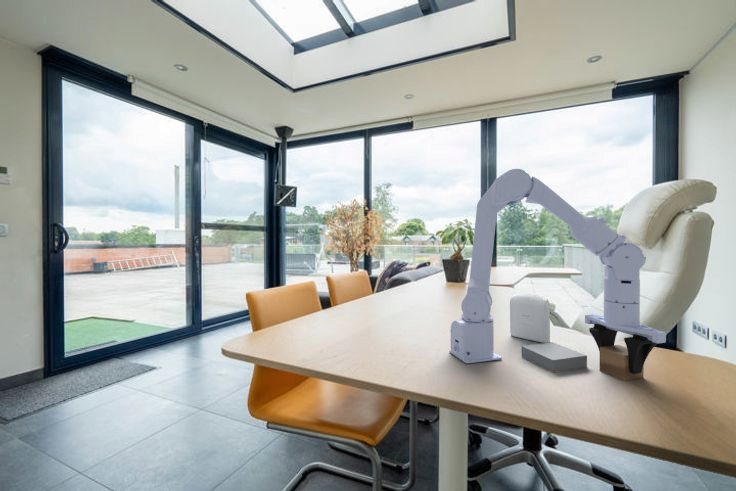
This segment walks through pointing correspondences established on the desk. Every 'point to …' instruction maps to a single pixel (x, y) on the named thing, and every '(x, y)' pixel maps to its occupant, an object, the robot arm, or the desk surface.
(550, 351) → the base slab
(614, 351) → the walnut cube
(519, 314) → the photo printer
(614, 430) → the desk surface
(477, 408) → the desk surface
